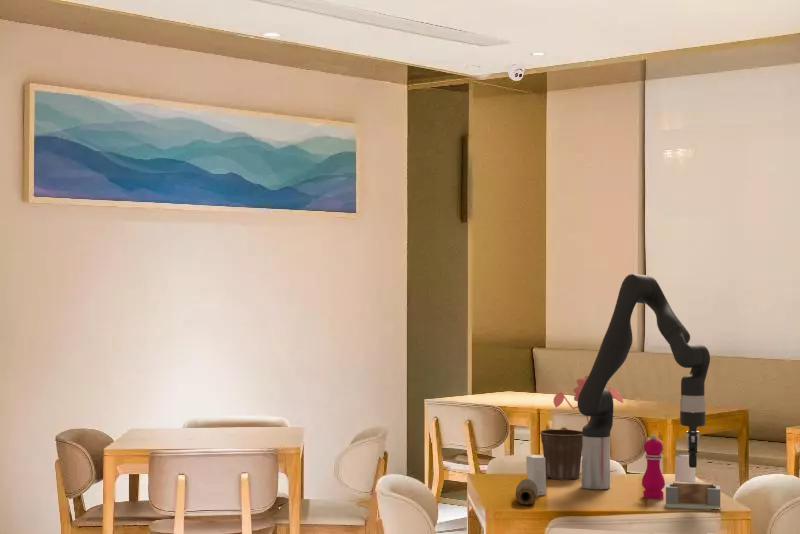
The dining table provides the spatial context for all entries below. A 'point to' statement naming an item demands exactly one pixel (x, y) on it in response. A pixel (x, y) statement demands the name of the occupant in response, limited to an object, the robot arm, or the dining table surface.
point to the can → (683, 469)
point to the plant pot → (562, 453)
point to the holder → (673, 503)
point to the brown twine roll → (526, 492)
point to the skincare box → (537, 472)
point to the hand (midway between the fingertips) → (692, 466)
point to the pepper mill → (653, 469)
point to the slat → (692, 492)
